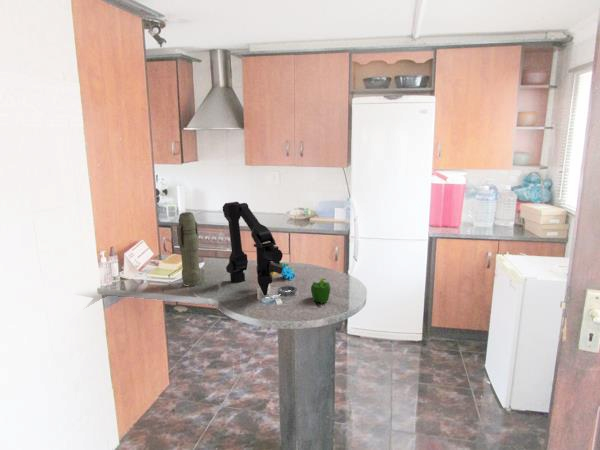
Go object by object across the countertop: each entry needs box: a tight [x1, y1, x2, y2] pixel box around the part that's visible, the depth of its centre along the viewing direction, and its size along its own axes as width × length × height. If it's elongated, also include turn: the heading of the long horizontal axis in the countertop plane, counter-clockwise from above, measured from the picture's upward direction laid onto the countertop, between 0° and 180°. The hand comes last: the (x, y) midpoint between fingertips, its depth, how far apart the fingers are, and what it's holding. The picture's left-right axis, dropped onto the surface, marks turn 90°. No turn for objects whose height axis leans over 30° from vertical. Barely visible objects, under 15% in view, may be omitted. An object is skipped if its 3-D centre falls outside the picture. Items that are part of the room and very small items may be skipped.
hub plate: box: [256, 285, 300, 301], centre depth 190 cm, size 18×14×2 cm
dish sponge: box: [270, 262, 290, 276], centre depth 224 cm, size 7×14×2 cm, turn 144°
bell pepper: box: [310, 277, 331, 304], centre depth 181 cm, size 8×8×10 cm
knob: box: [258, 283, 271, 295], centre depth 189 cm, size 5×5×6 cm
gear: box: [281, 264, 296, 281], centre depth 210 cm, size 11×6×10 cm
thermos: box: [176, 211, 202, 287], centre depth 204 cm, size 9×12×35 cm
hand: (264, 291), depth 189 cm, fingers open, 8 cm apart
